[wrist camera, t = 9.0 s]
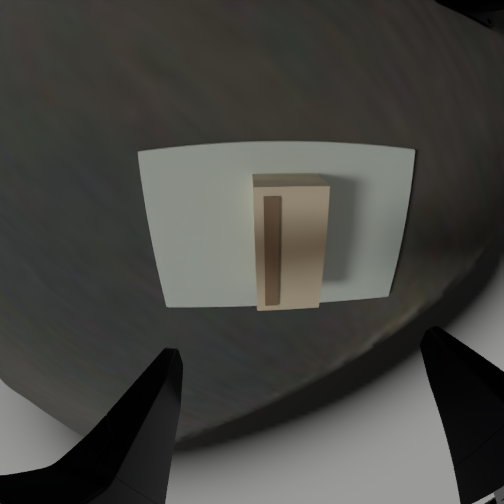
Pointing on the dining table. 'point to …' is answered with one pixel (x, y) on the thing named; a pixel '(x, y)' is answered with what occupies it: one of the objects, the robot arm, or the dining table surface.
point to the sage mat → (242, 216)
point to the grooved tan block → (289, 239)
